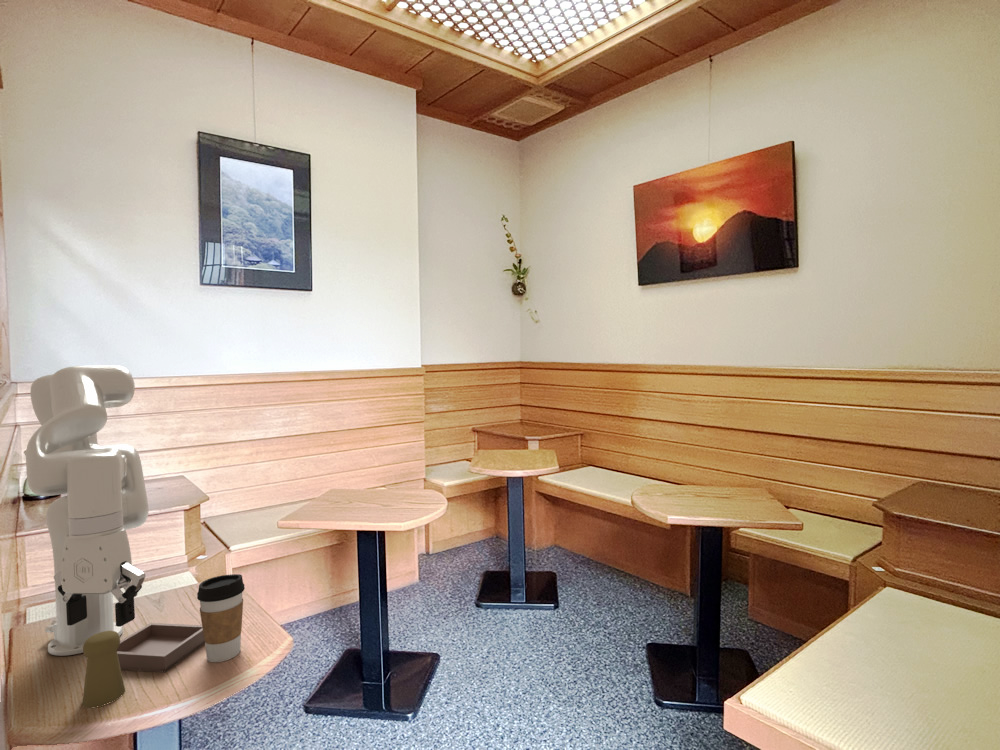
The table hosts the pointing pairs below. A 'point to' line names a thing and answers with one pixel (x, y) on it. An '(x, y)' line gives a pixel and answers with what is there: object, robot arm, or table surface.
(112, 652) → the tan tall rounded piece
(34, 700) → the table surface
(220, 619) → the coffee cup
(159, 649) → the lacquer tray
